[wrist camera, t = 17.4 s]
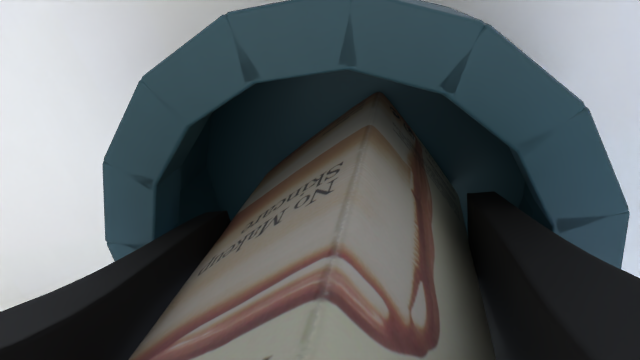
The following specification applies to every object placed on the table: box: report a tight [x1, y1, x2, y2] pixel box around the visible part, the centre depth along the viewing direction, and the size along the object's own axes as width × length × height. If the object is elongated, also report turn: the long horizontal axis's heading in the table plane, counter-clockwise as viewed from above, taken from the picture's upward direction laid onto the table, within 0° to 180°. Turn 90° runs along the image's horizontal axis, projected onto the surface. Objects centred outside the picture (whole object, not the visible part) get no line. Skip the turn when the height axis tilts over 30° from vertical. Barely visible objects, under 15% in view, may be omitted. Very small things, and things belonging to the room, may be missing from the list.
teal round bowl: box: [103, 0, 629, 269], centre depth 12 cm, size 11×11×6 cm
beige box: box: [129, 92, 496, 360], centre depth 9 cm, size 5×4×10 cm
